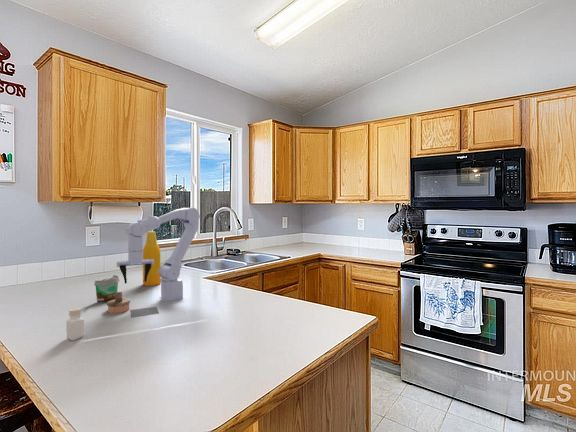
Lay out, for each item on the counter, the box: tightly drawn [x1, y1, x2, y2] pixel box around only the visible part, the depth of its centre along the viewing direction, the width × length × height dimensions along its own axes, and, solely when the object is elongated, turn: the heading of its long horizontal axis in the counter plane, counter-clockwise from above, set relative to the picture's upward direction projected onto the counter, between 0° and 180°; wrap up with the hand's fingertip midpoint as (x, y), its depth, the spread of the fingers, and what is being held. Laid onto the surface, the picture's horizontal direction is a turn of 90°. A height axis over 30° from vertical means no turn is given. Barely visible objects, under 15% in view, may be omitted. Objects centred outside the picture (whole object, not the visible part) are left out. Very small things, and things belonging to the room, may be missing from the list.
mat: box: [129, 306, 160, 318], centre depth 131 cm, size 10×10×1 cm
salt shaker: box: [66, 307, 85, 341], centre depth 106 cm, size 4×4×10 cm
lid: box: [106, 291, 131, 307], centre depth 133 cm, size 9×9×4 cm
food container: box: [94, 275, 120, 303], centre depth 150 cm, size 12×6×10 cm, turn 168°
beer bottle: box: [142, 230, 162, 287], centre depth 179 cm, size 9×9×29 cm
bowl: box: [107, 303, 130, 314], centre depth 134 cm, size 8×8×3 cm
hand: (135, 282), depth 140 cm, fingers open, 7 cm apart
